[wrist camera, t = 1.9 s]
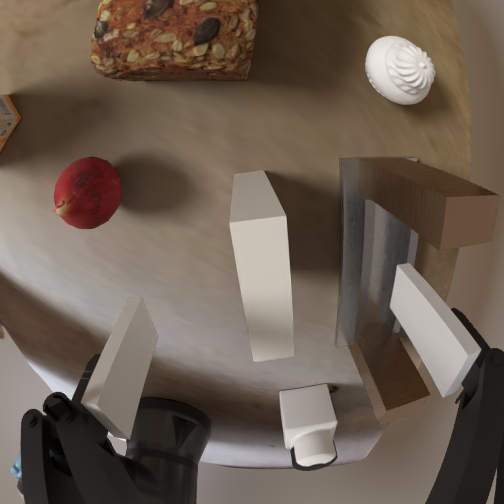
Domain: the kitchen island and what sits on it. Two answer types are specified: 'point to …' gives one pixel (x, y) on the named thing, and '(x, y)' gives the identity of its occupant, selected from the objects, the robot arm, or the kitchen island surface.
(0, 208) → the kitchen island surface
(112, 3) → the bread
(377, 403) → the wood and metal rack
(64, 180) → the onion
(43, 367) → the kitchen island surface
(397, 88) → the white rounded ridged piece
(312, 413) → the medicine bottle
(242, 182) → the door panel
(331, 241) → the kitchen island surface
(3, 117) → the supplement box
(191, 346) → the kitchen island surface
